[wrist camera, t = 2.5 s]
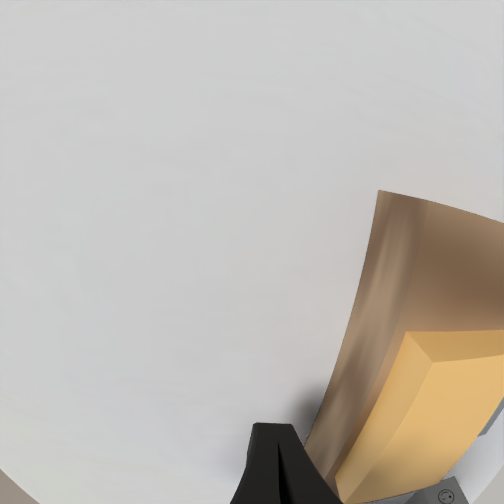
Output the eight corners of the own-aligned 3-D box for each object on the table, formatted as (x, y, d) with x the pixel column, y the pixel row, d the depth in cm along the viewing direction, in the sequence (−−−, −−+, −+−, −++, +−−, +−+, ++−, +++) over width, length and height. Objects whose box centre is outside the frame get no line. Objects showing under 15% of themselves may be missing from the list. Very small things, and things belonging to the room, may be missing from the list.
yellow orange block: (426, 460, 12) (438, 483, 10) (334, 476, 12) (341, 505, 10) (502, 329, 10) (528, 350, 8) (406, 331, 9) (432, 362, 7)
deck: (405, 453, 17) (422, 489, 13) (296, 464, 17) (303, 510, 13) (504, 224, 12) (553, 241, 9) (378, 189, 12) (428, 200, 8)
